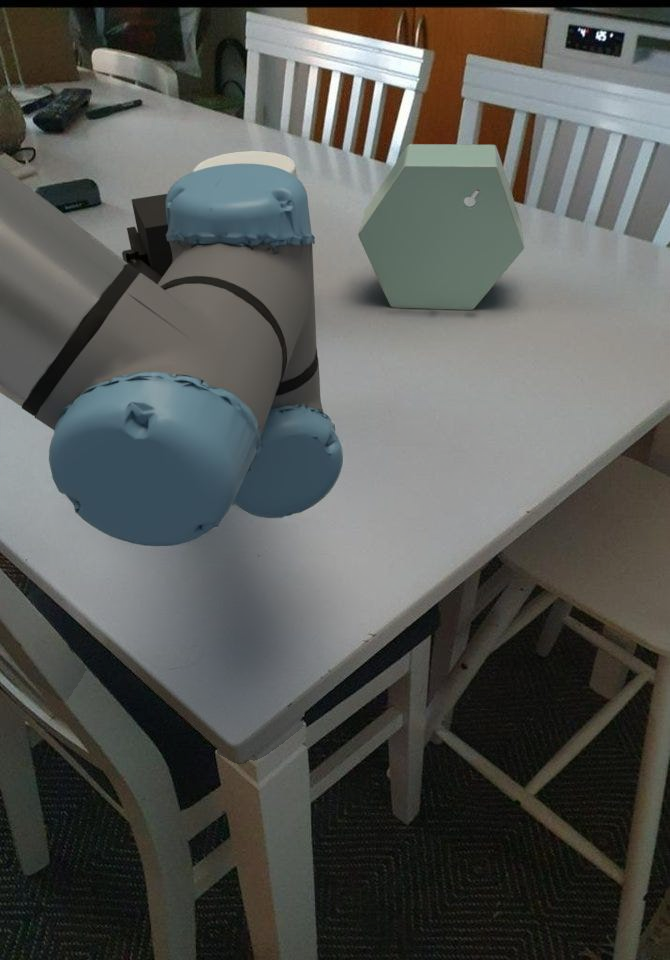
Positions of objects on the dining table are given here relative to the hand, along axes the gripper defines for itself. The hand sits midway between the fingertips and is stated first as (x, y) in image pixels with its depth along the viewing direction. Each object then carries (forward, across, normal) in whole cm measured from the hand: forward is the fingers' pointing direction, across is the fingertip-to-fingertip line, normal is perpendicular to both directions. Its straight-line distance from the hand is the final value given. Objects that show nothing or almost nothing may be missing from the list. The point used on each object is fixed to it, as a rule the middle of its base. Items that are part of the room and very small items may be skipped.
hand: (164, 236), depth 75 cm
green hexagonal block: (+11, +34, -18) cm, 40 cm away
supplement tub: (+14, +12, -18) cm, 26 cm away
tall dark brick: (-5, 0, -6) cm, 8 cm away
